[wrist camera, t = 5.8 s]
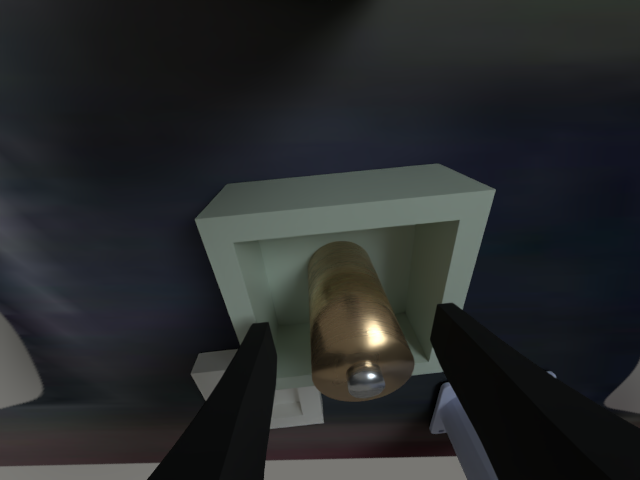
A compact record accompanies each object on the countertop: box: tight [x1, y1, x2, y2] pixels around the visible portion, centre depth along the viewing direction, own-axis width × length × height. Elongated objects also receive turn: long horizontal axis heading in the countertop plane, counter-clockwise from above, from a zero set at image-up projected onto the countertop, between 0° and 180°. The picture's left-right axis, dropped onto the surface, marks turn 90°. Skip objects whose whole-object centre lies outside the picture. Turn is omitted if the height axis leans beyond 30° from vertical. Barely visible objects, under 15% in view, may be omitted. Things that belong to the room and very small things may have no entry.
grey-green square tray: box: [195, 164, 496, 390], centre depth 12 cm, size 10×10×4 cm
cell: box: [308, 241, 415, 402], centre depth 11 cm, size 4×4×6 cm
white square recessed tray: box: [191, 349, 324, 429], centre depth 18 cm, size 8×8×2 cm
